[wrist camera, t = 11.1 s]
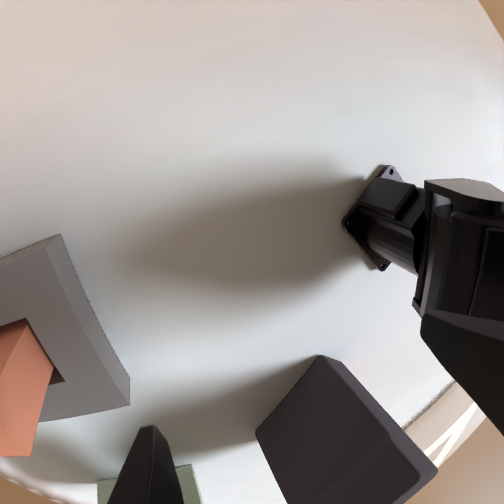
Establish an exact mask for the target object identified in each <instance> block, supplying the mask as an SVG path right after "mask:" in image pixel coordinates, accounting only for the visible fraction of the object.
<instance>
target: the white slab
mask: <svg viewBox="0 0 504 504" xmlns="http://www.w3.org/2000/svg"><path fill="white" fill-rule="evenodd" d="M477 406H478V405H477V404H476V403H475V402H474V401H473V400H472V399H471V397H470V396H469V395H468V394H467V393H466V392H465V391H464V390H463V388H462V387H461V386H460V385H459V384H458V383H457V382H455V383H454V384H453V385H452V386H451V387H450V388H449V389H448V390H447V391H446V392H445V393H444V394H443V395H442V396H441V397H440V398H439V399H438V400H437V401H436V402H435V403H434V404H433V405H432V406H431V407H430V408H429V409H428V410H427V411H426V412H425V413H423V414H422V415H421V416H420V417H419V418H418V419H417V420H416V421H415V422H413V423H412V424H411V425H410V426H409V427H408V428H407V429H405V430H404V432H405V433H406V434H407V435H408V436H409V437H410V438H411V439H412V441H413V442H414V443H415V444H416V445H417V446H418V447H419V448H420V449H421V450H422V452H423V453H424V454H425V455H426V456H427V457H428V458H429V459H430V460H431V461H432V463H433V464H434V465H435V466H436V467H437V466H438V465H439V464H440V462H441V461H442V460H443V458H444V457H445V456H446V454H447V453H448V451H449V450H450V449H451V447H452V446H453V444H454V443H455V441H456V440H457V438H458V437H459V435H460V434H461V432H462V431H463V429H464V428H465V426H466V424H467V423H468V421H469V419H470V418H471V416H472V414H473V413H474V411H475V409H476V407H477Z"/></svg>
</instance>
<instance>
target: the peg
mask: <svg viewBox="0 0 504 504" xmlns="http://www.w3.org/2000/svg"><path fill="white" fill-rule="evenodd" d="M53 368H54V363H53V362H52V360H51V359H50V357H49V356H48V354H47V353H46V351H45V349H44V348H43V346H42V344H41V343H40V341H39V339H38V338H37V336H36V334H35V332H34V331H33V329H32V327H31V325H30V323H29V322H28V320H27V318H23V319H20V320H17V321H14V322H11V323H8V324H5V325H2V326H0V457H5V456H31V452H32V447H33V442H34V438H35V433H36V429H37V424H38V420H39V416H40V412H41V409H42V405H43V401H44V398H45V394H46V391H47V387H48V384H49V381H50V377H51V374H52V371H53Z"/></svg>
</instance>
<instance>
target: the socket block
mask: <svg viewBox="0 0 504 504" xmlns="http://www.w3.org/2000/svg"><path fill="white" fill-rule="evenodd" d="M23 318H27V320H28V322H29V323H30V325H31V327H32V329H33V331H34V332H35V334H36V336H37V338H38V339H39V341H40V343H41V344H42V346H43V348H44V349H45V351H46V353H47V354H48V356H49V357H50V359H51V360H52V362H53V363H54V368H53V371H52V374H51V377H50V381H49V384H48V387H47V391H46V394H45V398H44V401H43V405H42V409H41V412H40V416H39V420H38V422H46V421H52V420H59V419H65V418H71V417H76V416H82V415H87V414H92V413H97V412H102V411H106V410H111V409H115V408H120V407H124V406H128V405H130V377H129V376H128V374H127V372H126V371H125V369H124V367H123V366H122V364H121V362H120V360H119V359H118V357H117V355H116V353H115V352H114V350H113V348H112V346H111V344H110V343H109V341H108V339H107V337H106V335H105V333H104V331H103V329H102V327H101V325H100V324H99V322H98V320H97V318H96V316H95V314H94V311H93V309H92V307H91V305H90V303H89V301H88V299H87V297H86V295H85V292H84V290H83V288H82V286H81V283H80V281H79V279H78V277H77V274H76V272H75V269H74V267H73V265H72V262H71V260H70V257H69V255H68V252H67V249H66V247H65V244H64V242H63V239H62V236H61V234H58V235H56V236H53V237H51V238H48V239H46V240H43V241H41V242H38V243H36V244H34V245H31V246H29V247H26V248H24V249H22V250H19V251H17V252H15V253H13V254H10V255H8V256H6V257H3V258H1V259H0V326H2V325H5V324H8V323H11V322H14V321H17V320H20V319H23Z"/></svg>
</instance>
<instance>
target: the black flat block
mask: <svg viewBox="0 0 504 504" xmlns="http://www.w3.org/2000/svg"><path fill="white" fill-rule="evenodd" d="M255 435H256V438H257V440H258V442H259V444H260V447H261V449H262V451H263V453H264V456H265V458H266V460H267V462H268V464H269V466H270V469H271V471H272V473H273V475H274V477H275V479H276V481H277V483H278V485H279V487H280V490H281V492H282V494H283V496H284V498H285V500H286V502H287V504H403V503H405V502H406V501H407V500H408V499H410V498H411V497H412V496H413V495H414V494H416V493H417V492H418V491H419V490H420V489H421V488H422V487H423V486H425V485H426V484H427V483H428V482H429V481H430V480H431V479H432V478H433V477H435V476H436V474H437V472H438V469H437V467H436V466H435V465H434V464H433V463H432V461H431V460H430V459H429V458H428V457H427V456H426V455H425V454H424V453H423V452H422V450H421V449H420V448H419V447H418V446H417V445H416V444H415V443H414V442H413V441H412V439H411V438H410V437H409V436H408V435H407V434H406V433H405V432H404V431H403V430H402V428H401V427H400V426H399V425H398V424H397V423H396V422H395V421H394V420H393V419H392V417H391V416H390V415H389V414H388V413H387V412H386V411H385V410H384V409H383V408H382V406H381V405H380V404H379V403H378V402H377V401H376V400H375V399H374V398H373V396H372V395H371V394H370V393H369V392H368V391H367V390H366V389H365V388H364V386H363V385H362V384H361V383H360V382H359V381H358V380H357V379H356V378H355V376H354V375H353V374H352V373H351V372H350V371H349V370H348V369H347V368H346V366H345V365H344V364H343V363H342V362H340V361H337V360H334V359H332V358H329V357H326V356H323V355H320V356H319V357H318V358H317V359H316V360H315V362H314V363H313V364H312V365H311V367H310V368H309V369H308V370H307V372H306V373H305V374H304V375H303V377H302V378H301V379H300V380H299V382H298V383H297V384H296V385H295V386H294V388H293V389H292V390H291V391H290V392H289V394H288V395H287V396H286V397H285V398H284V399H283V401H282V402H281V403H280V404H279V405H278V406H277V408H276V409H275V410H274V411H273V412H272V413H271V414H270V416H269V417H268V418H267V419H266V420H265V421H264V422H263V423H262V424H261V425H260V427H259V428H258V429H257V430H256V432H255Z"/></svg>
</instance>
